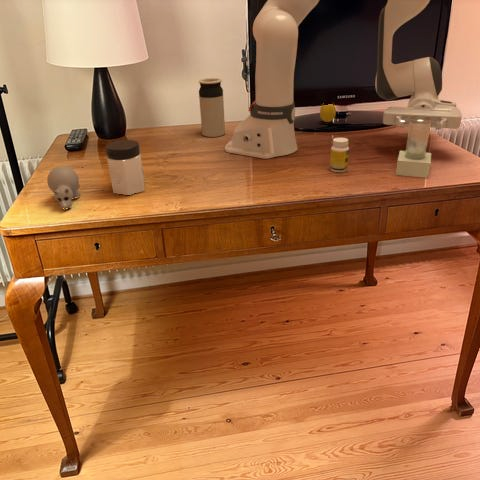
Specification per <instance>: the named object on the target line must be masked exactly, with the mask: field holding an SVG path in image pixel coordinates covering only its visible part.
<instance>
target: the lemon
mask: <svg viewBox="0 0 480 480" xmlns="http://www.w3.org/2000/svg"><path fill="white" fill-rule="evenodd" d="M333 104H334V103H333ZM333 104H328V105H323V104H322V105H323V106H322V105H321V107H320V109H319V111H320V112H319V116H320V119H321V120H322V121H324V122H325V123H326V122H329V123H330V122H332V121H333V120H334V119H335V118H336V113H337V109H336V105H335V104H334V105H333Z"/></svg>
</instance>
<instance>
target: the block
mask: <svg viewBox="0 0 480 480" xmlns="http://www.w3.org/2000/svg"><path fill="white" fill-rule="evenodd" d="M405 152H406V150H399V154H398V157H397V162H396V163H397V164H396V169H395V175H396V176H403V177H413V178H414V177H415V178H424V179H425V178H426V179H428V178H429V173H430V168H431V164H432V162H431V160H432V153H431V152H426V155H425V158H424V159H421V160H413V159H408V158H406V157H405Z"/></svg>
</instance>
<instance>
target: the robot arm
mask: <svg viewBox="0 0 480 480" xmlns="http://www.w3.org/2000/svg"><path fill="white" fill-rule="evenodd" d="M430 1H431V0H387V3H386V4H385V6H384V7H383V8H382V9H381V10H380V14H379V18H378V32H377V38H378V39H377V60H376V61H377V65H376V67H377V68H376V73H375V74H376V75H375V84H374V85H375V92H376V94H377V95H378V96H379V97H380V98H381V99H383V100H385V101H388V102H389V101H392V100H395V99H399V98H402V97H408V96H410V98H409V100H408V102H407V106H390V107H387V108H386V109H385V110H384V111H383V116H382V124H384V125H386V126H397V127H398V128H404V127H405V126H406V127H409V125H410V118H411V117H413V116H425V117H430V118H432V122H431V125H430V128H435V130H441V131H442V129H451V130H452V129H460V127H461V122H462V119H463V118H462V117H463V115H462V112H461V109H460V108H459V107H457V103H456V102H453V101H449V100H443V99H439V95H440V94H441V93H442V91H443V74H442V68H441V65H440V63H439V62H438V61H437V60H436V59H435V58H433V57H432V56H427V57H421V58H416V59H413V60H410V61H406V62H401V63H396V64H395V63H393V62H392V54H393V53H392V51H393V38H394V34H395V32H397V30H398V29H399V28H400V27H401V26H402V25H404V24H405V23H407V22H408V21H410V20H411V19H413V18H415V17H416V16H417V15H418V14H419V15H420V13H421V12H423V10H424V9H425V8H426V7H427V6H428V4H430ZM319 2H320V0H267V1H266V2H265V3H264V5H263V7H262V8H261V10H260V11H259V13H258V14H257V16H256V17H255V19H254V21H253V25H252V35H253V37H254V40H255V41H256V44H255V45H256V50H255V51H256V55H255V57H256V58H255V61H256V62H255V74H254V75H255V76H254V77H255V100H254V101H253V102H252V104H250V105H249V107H248V112H249V114H250V115H248V116H247V117H246V118H245V119H243V120H242V121H241V122H240V123H238V124H237V125H236V127H235V128H234V129H233V131H232V134H231V135H232V137H231V140H229V141H228V142H227V143H226V144H225V146H224V150H225V152H226V153H230V154H237V155H242V156H247V157H253V158H260V159H264V160H265V159H266V160H267V159H271V158H274V157H282V156H286V155H291V154H293V153H295V152H297V150H298V148H299V147H298V144H297V140H296V136H295V135H296V134H295V127H294V122H295V118H296V108H295V104H296V103H295V101H294V85H295V83H294V82H295V81H294V80H295V79H294V78H295V77H294V76H295V68H296V59H297V53H298V52H297V50H298V39H299V26H300V24H301V23H302V22H303V20H305V18H306V17H307V16H308V15H309V13H310V12H311V11H312V10H313V9H314V8H315V7H316V6H317V5H318V4H319Z"/></svg>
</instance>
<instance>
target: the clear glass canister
mask: <svg viewBox="0 0 480 480" xmlns="http://www.w3.org/2000/svg"><path fill="white" fill-rule="evenodd" d="M431 122H432V118H430V117H425V116H413V117H411V118H410V125H409V126H408V134H407V140H406V146H405V151H406V152H405V157H406V158H408V159H413V160H421V159H424V158H425V155H426V153H427V148H428V143H429V138H430V137H429V136H430V131H431V127H430V125H431Z"/></svg>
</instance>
